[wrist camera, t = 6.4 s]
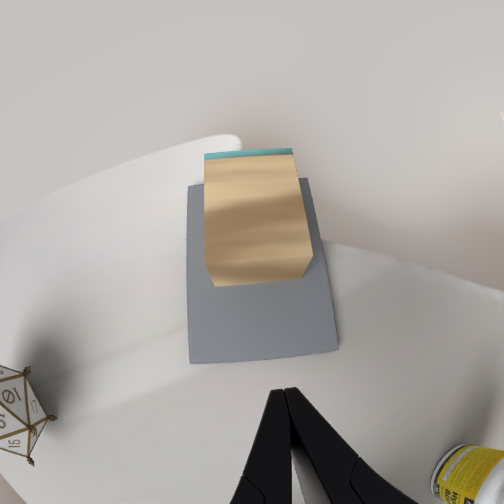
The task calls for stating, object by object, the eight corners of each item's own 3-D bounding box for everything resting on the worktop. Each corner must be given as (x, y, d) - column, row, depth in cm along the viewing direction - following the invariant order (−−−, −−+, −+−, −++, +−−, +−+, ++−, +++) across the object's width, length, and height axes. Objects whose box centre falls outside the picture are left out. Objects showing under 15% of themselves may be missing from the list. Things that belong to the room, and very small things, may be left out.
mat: (336, 350, 19) (338, 349, 18) (191, 363, 18) (189, 363, 18) (306, 182, 24) (307, 177, 24) (189, 190, 24) (188, 186, 23)
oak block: (313, 255, 16) (291, 148, 19) (204, 263, 16) (204, 153, 19) (300, 279, 20) (285, 185, 23) (214, 286, 20) (211, 190, 23)
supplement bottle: (417, 485, 14) (492, 521, 5) (457, 433, 15) (540, 443, 6) (445, 504, 12) (513, 533, 3) (481, 456, 14) (555, 467, 5)
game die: (43, 409, 19) (-44, 387, 12) (56, 348, 19) (-46, 315, 12) (66, 485, 13) (-42, 468, 6) (80, 432, 13) (-62, 402, 5)
